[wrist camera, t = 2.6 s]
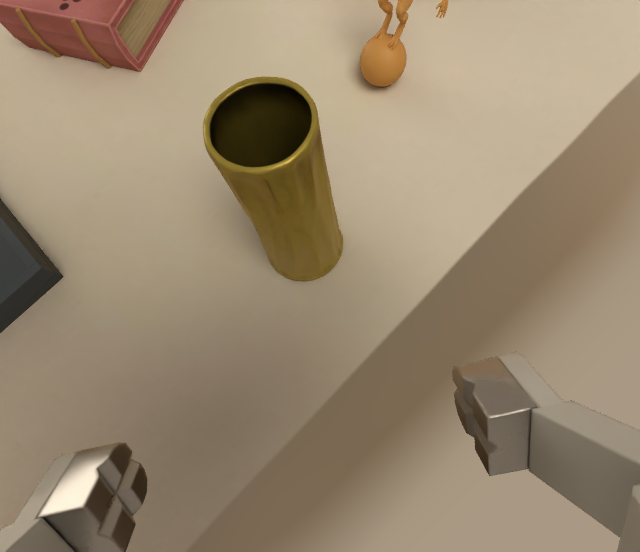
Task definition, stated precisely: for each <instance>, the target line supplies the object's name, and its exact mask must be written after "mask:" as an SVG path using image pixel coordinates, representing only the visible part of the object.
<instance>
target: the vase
mask: <svg viewBox="0 0 640 552" xmlns="http://www.w3.org/2000/svg"><path fill="white" fill-rule="evenodd" d="M203 135H204V142H205V146H206V149H207V152H208V154H209V156H210V157H211V159H212V160H213V162H214V163H215V165H216V166H217V168H218V170H219V171H220V173H221V174H222V176H223V177H224V179H225V180H226V182H227V183H228V185H229V187H230V188H231V190H232V192H233V193H234V195H235V197H236V198H237V200H238V201H239V203H240V204H241V206H242V208H243V209H244V211H245V212H246V214H247V215H248V217H249V218H250V220H251V221H252V223H253V224H254V226H255V228H256V230H257V233H258V235H259V237H260V239H261V242H262V244H263V246H264V249H265V251H266V253H267V255H268V258H269V260H270V262H271V264H272V265H273V267H274V268H275V269H276V270H277V272H279V273H280V274H281V275H283V276H285V277H287V278H290V279H293V280H298V281H309V280H314V279H317V278H319V277H322V276H324V275H325V274H327V273H328V272H329V271H330V270H331V269H332V268H333V267H334V266H335V265H336V264H337V262H338V260H339V259H340V256H341V253H342V249H343V237H342V234H341V231H340V229H339V225H338V220H337V215H336V212H335V207H334V203H333V198H332V193H331V187H330V181H329V177H328V172H327V167H326V162H325V156H324V151H323V145H322V139H321V133H320V126H319V119H318V113H317V108H316V105H315V103H314V101H313V99H312V98H311V97H310V95H309V94H308V93H307V92H306V91H305V90H304V89H303V88H302V87H301V86H300V85H299V84H297V83H295V82H293V81H290V80H287V79H283V78H278V77H256V78H251V79H246V80H243V81H241V82H238V83H236V84H235V85H233V86H231V87H230V88H228V89H227V90H226V91H224V92H223V93H222V94H220V95H219V96H218V97H217V98H216V99H215V100H214V101H213V103H212V104H211V106H210V107H209V109H208V111H207V113H206V115H205V119H204V123H203Z"/></svg>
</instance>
